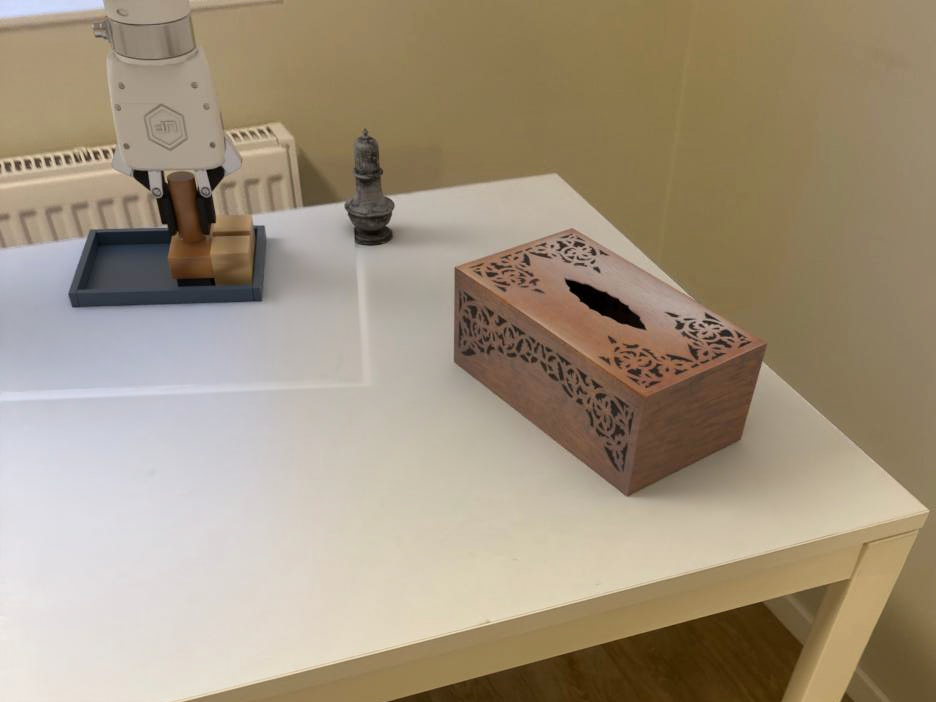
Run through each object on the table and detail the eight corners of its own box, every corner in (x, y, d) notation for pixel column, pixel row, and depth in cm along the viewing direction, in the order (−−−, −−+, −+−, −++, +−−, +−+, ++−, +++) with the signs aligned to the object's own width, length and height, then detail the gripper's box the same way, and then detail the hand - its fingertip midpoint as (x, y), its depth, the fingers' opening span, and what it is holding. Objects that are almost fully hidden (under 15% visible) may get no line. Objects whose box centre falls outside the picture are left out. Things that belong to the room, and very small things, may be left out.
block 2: (216, 289, 104) (209, 253, 101) (218, 271, 107) (212, 236, 104) (253, 288, 104) (248, 252, 101) (255, 270, 107) (250, 235, 104)
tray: (73, 314, 101) (67, 293, 100) (95, 248, 111) (89, 229, 109) (262, 307, 103) (259, 287, 101) (267, 244, 113) (264, 224, 111)
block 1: (219, 266, 107) (212, 231, 104) (221, 249, 110) (215, 215, 107) (255, 265, 108) (250, 230, 105) (257, 248, 110) (251, 214, 107)
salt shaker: (358, 250, 112) (351, 142, 104) (338, 229, 116) (329, 123, 107) (404, 240, 114) (400, 133, 106) (383, 220, 118) (378, 114, 109)
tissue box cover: (740, 439, 90) (767, 343, 82) (626, 496, 84) (644, 397, 76) (563, 320, 103) (572, 228, 96) (453, 361, 97) (454, 266, 90)
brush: (174, 289, 104) (154, 195, 96) (181, 250, 109) (163, 159, 102) (216, 288, 104) (199, 195, 97) (221, 249, 110) (205, 158, 102)
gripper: (55, 49, 86) (107, 248, 100) (239, 48, 88) (266, 244, 102) (69, 23, 91) (117, 215, 105) (243, 22, 93) (268, 212, 107)
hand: (190, 228), depth 103 cm, fingers closed on brush, 2 cm apart
